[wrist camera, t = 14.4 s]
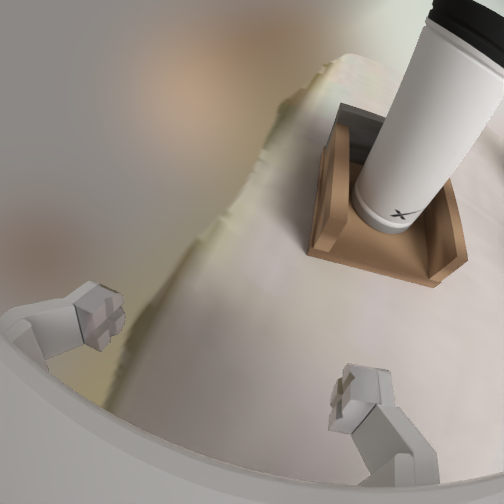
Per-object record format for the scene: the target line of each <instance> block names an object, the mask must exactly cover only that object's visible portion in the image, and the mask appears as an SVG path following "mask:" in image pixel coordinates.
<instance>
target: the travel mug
mask: <svg viewBox="0 0 504 504" xmlns="http://www.w3.org/2000/svg"><path fill="white" fill-rule="evenodd" d="M432 5H433V9H432V10H430V12H429V15H428V17H427V18H426V20H425V23H426V26H424V27H423V29H422V32H421V34H420V37H419V40H418V42H417V45H416V47H415V50H414V53H413V56H412V58H411V60H410V63H409V65H408V68H407V70H406V73H405V75H404V77H403V80H402V82H401V85H400V87H399V89H398V92H397V94H396V96H395V99H394V101H393V103H392V106H391V108H390V110H389V112H388V115H387V117H386V119H385V121H384V123H383V126H382V128H381V130H380V132H379V134H378V136H377V138H376V141H375V143H374V145H373V147H372V149H371V151H370V153H369V155H368V157H367V159H366V161H365V164H364V166H363V168H362V170H361V172H360V174H359V176H358V178H357V180H356V182H355V184H354V186H353V188H352V192H351V197H352V202H353V205H354V208H355V210H356V211H357V213H358V214H359V216H360V217H361V218H362V219H363V220H364V221H365V222H366V223H367V224H368V225H370V226H371V227H373V228H374V229H376V230H378V231H380V232H383V233H387V234H399V233H403V232H404V231H406V230H407V229H408V228H409V227H410V226H411V224H412V223H413V222H414V221H415V220H416V219H417V217H418V216H419V215H420V214H421V213H422V211H423V210H424V209H425V208H426V207H427V205H428V204H429V203H430V202H431V200H432V199H433V198H434V197H435V195H436V194H437V193H438V192H439V190H440V189H441V188H442V187H443V185H444V184H445V183H446V181H447V180H448V179H449V177H450V176H451V175H452V173H453V172H454V171H455V169H456V168H457V167H458V165H459V164H460V163H461V161H462V160H463V158H464V157H465V156H466V154H467V153H468V151H469V150H470V148H471V147H472V146H473V144H474V143H475V141H476V140H477V138H478V137H479V135H480V134H481V132H482V131H483V129H484V128H485V126H486V124H487V123H488V121H489V120H490V118H491V117H492V115H493V113H494V112H495V110H496V108H497V107H498V105H499V103H500V102H501V100H502V98H503V97H504V17H502V16H501V15H499V14H497V13H496V12H494V11H492V10H490V9H489V8H487V7H485V6H483V5H481V4H479V3H477V2H475V1H473V0H433V3H432Z"/></svg>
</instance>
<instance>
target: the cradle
mask: <svg viewBox="0 0 504 504" xmlns="http://www.w3.org/2000/svg"><path fill="white" fill-rule="evenodd" d="M385 119H386V118H385V117H382V116H380V115H377V114H374V113H371V112H368V111H365V110H362V109H359V108H356V107H353V106H350V105H347V104H344V103H340V106H339V109H338V112H337V115H336V119H335V122H334V125H333V128H332V131H331V134H330V137H329V140H328V143H327V146H326V147H325V146H324V148H323V151H322V154H321V162H320V170H319V178H318V185H317V193H316V200H315V207H314V214H313V221H312V228H311V234H310V240H309V247H308V253H307V255H308V256H312V257H316V258H320V259H324V260H328V261H332V262H336V263H340V264H343V265H347V266H351V267H355V268H359V269H363V270H367V271H370V272H374V273H378V274H382V275H386V276H390V277H393V278H397V279H401V280H405V281H409V282H412V283H416V284H420V285H424V286H427V287H431V288H434V287H436V286H437V285H438V284H440V283H441V281H442V280H443V279H444V278H446V277H447V276H448V275H450V274H451V273H452V272H454V271H455V270H456V269H458V268H459V267H460V266H462V265H463V264H464V263H466V262H467V261H468V257H467V251H466V245H465V239H464V234H463V229H462V224H461V220H460V215H459V211H458V207H457V203H456V199H455V195H454V191H453V187H452V184H451V180H450V177H449V179H448V180H447V181H446V183H445V184H444V185H443V187H442V188H441V189H440V190H439V192H438V193H437V194H436V195H435V197H434V198H433V199H432V200H431V202H430V203H429V204H428V205H427V207H426V208H425V209H424V210H423V211H422V213H421V214H420V215H419V216H418V217H417V219H416V220H415V221H414V222H413V223H412V224H411V226H410V227H409V228H408V229H407V230H406V231H404V232H403V233H399V234H387V233H383V232H380V231H378V230H376V229H374V228H373V227H371V226H370V225H368V224H367V223H366V222H365V221H364V220H363V219H362V218H361V217H360V216H359V214H358V213H357V211H356V210H355V208H354V205H353V202H352V197H351V192H352V188H353V186H354V184H355V182H356V180H357V178H358V176H359V174H360V172H361V170H362V168H363V166H364V164H365V161H366V159H367V157H368V155H369V153H370V151H371V149H372V147H373V145H374V143H375V141H376V138H377V136H378V134H379V132H380V130H381V128H382V126H383V123H384V121H385Z"/></svg>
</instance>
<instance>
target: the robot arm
mask: <svg viewBox="0 0 504 504" xmlns="http://www.w3.org/2000/svg"><path fill="white" fill-rule="evenodd" d="M123 303H124V301H123V295H122V294H121V293H119V292H116V291H114V290H112V289H109V288H108V287H106V286H103V285H101V284H98V283H96V282H94V281H92V280H91V281H87V282H86V283H84V284H83V285H81V286H80V287H79V288H77V289H76V290H74V291H73V292H72V293H70V294H69V295H68V296H66V297H65V298H63V299H62V298H56V299H52V300H47V301H42V302H37V303H32V304H27V305H23V306H17V307H12V308H10V309H9V310H8V311H6V312H5V313H4V314H2V315H1V316H0V504H504V472H501V473H497V474H493V475H489V476H484V477H480V478H475V479H469V480H464V481H458V482H451V483H444V484H440V478H439V469H438V460H437V453H436V451H435V450H434V449H433V448H432V447H431V445H430V444H429V443H428V442H427V440H426V439H425V438H424V437H423V435H422V434H421V433H420V432H419V430H418V429H417V428H416V427H415V426H414V424H413V423H412V422H411V421H410V419H409V418H408V417H407V416H406V415H405V413H404V412H403V411H402V410H401V408H400V407H396V405H395V398H394V391H393V385H392V379H391V373H390V371H389V370H385V369H379V368H372V367H366V366H361V365H356V364H351V363H348V364H347V365H346V366H345V368H344V369H343V377H342V378H340V379H338V380H337V382H336V384H335V386H334V388H333V391H332V395H331V402H330V405H331V407H332V408H333V410H332V412H331V413H330V415H329V427H328V431H333V432H339V433H345V434H351V437H352V439H353V441H354V442H355V444H356V446H357V448H358V450H359V452H360V454H361V456H362V458H363V460H364V462H365V464H366V466H367V468H368V470H369V472H370V474H371V475H370V476H369V477H368V478H366V479H365V480H364V481H362V482H361V483H360V484H358V485H357V486H348V485H336V484H327V483H319V482H311V481H305V480H299V479H293V478H287V477H282V476H277V475H273V474H268V473H264V472H260V471H256V470H252V469H248V468H244V467H240V466H237V465H233V464H230V463H227V462H224V461H220V460H217V459H214V458H211V457H208V456H205V455H203V454H200V453H197V452H194V451H192V450H189V449H186V448H184V447H181V446H179V445H176V444H174V443H171V442H169V441H167V440H164V439H162V438H160V437H158V436H155V435H153V434H151V433H149V432H147V431H145V430H143V429H141V428H139V427H137V426H135V425H133V424H131V423H129V422H127V421H125V420H123V419H121V418H119V417H117V416H115V415H114V414H112V413H110V412H108V411H107V410H105V409H103V408H101V407H100V406H98V405H96V404H95V403H93V402H91V401H89V400H88V399H86V398H85V397H83V396H82V395H80V394H79V393H77V392H76V391H74V390H73V389H71V388H70V387H68V386H67V385H65V384H64V383H62V382H61V381H59V380H58V379H57V378H55V377H54V376H53V375H51V374H50V373H49V370H48V366H47V364H46V362H45V360H46V359H48V358H51V357H53V356H56V355H59V354H61V353H63V352H66V351H69V350H71V349H74V348H76V347H79V346H81V345H83V344H86V345H88V346H90V347H92V348H94V349H96V350H98V351H99V352H101V351H102V350H103V349H104V348H105V347H106V346H107V345H108V344H109V343H110V342H111V336H114V335H117V334H118V333H119V332H120V331H121V330H122V328H123V326H124V323H125V312H124V310H123V309H122V307H121V306H122V304H123Z"/></svg>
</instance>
